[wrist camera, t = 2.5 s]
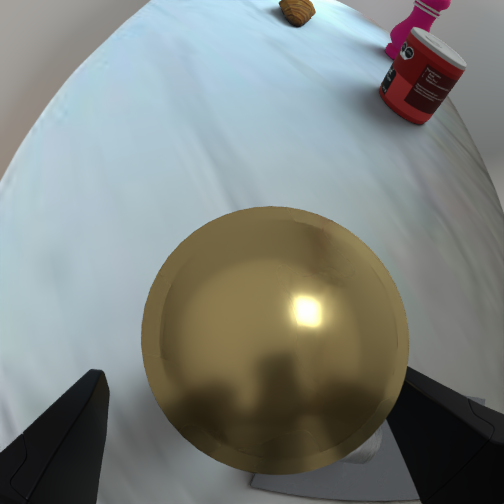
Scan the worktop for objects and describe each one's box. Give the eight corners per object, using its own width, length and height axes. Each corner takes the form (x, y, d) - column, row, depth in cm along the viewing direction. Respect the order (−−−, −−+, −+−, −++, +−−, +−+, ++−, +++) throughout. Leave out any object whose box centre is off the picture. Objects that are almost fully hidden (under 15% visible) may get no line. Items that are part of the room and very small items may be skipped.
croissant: (277, 3, 43) (282, -17, 39) (310, 11, 44) (316, -8, 40) (274, 23, 38) (281, -2, 33) (315, 33, 38) (323, 9, 34)
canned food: (393, 83, 35) (425, 28, 25) (433, 120, 33) (473, 66, 24) (367, 90, 32) (402, 23, 22) (413, 131, 30) (459, 67, 21)
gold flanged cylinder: (239, 424, 15) (339, 507, 4) (165, 379, 16) (85, 372, 4) (281, 353, 18) (432, 288, 6) (210, 310, 18) (242, 166, 6)
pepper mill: (382, 44, 43) (420, -33, 25) (414, 62, 43) (456, -11, 25) (382, 55, 40) (425, -31, 22) (417, 75, 40) (465, -6, 22)
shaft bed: (483, 399, 18) (510, 396, 15) (457, 493, 14) (483, 498, 11) (297, 352, 18) (317, 345, 15) (249, 484, 14) (261, 504, 11)
